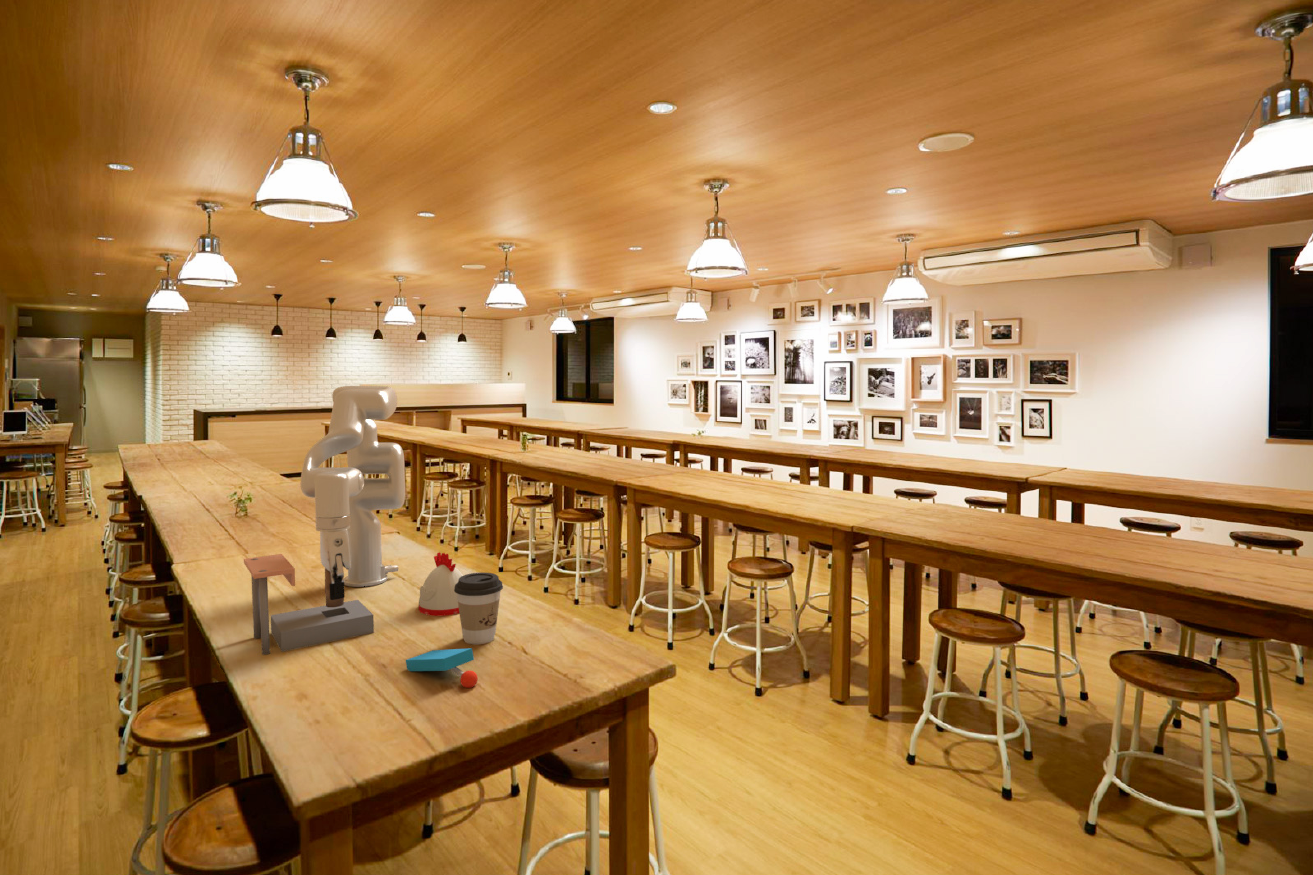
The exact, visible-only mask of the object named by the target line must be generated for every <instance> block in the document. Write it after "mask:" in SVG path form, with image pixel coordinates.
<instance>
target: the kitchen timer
mask: <svg viewBox="0 0 1313 875" xmlns="http://www.w3.org/2000/svg"><path fill="white" fill-rule="evenodd" d="M433 559H434V564H435V566H436V567H435V568H434V569H433V570H432V571H431V572H430V573H429V574H428V576H427V577H426V578H425V580H424V583H423V585H421V586H420V588H419V598H418V611H419V613H421V614H423V615H426V614H427V616H433V617H441V616H442V617H445V616H446V617H447V616H452V615H453V616H454V615H457V614H460V613H459V607H458V600H457V593H456V592H455V591H454V589H455V584H457V583H458V581H459V578H460V577H461V576H464V574H463V573H462V572H461V571H460V569H458V568H457V567H456V565H457V564H456V563H453V558H450V556H449V553H445V552H442V553H441V551H439V552H437V553H436V555H434V556H433Z"/></svg>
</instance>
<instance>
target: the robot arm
mask: <svg viewBox="0 0 1313 875" xmlns="http://www.w3.org/2000/svg"><path fill="white" fill-rule="evenodd" d="M331 396H332V409H331V410H332V411H331V414H330V415H331V416H330V421H329V428H328V432H327V434H326V435H324V436H323V437H321V439H319V440H318V441H316V443H314V444H313V445H312V446H311V448H310V449H309V450H308V451H307V453H306V455H305V457H304V460H303V464H302V469H301V473H300V474H301V475H300V490H301V493H302V494H303V495H304V496H306V497H307V498H311V499H312V498H314V505H315V506H314V508H315V509H314V510H315V531H317V532H319V533H320V534H319V539H320V540H319V544H320V545H319V551H320V554H319V555H320V556H319V557H320V563H321V565H322V566H323V568H324V570H325V569H327V570H328V571H330V577H331V583H330V584H329V585H330V599H331V600H335V599H341V598H345V594H346V593H345V586H347V587H352V588H363V587H364V586H365V587H371V586H377V585H380V584H383V583H385V582H386V581H387V580H388V574H389V573H395V572H399V565H398V564H395V565H392V564H389V565H384V564H383V560H382V557H383V552H382V526H381V522H380V519H379V518H378V516H377V515H376V514H375V513H374V512H373V511H376V510H379V511H380V510H398V509H400V508H402V507H403V506H404V504H405V501H406V477H405V475H406V474H405V472H406V470H405V469H406V468H405V455H404V450H403V448H402V446H401V445H400V444H399V443H397V442H379V441H378V440H379V439H378V426H377V424H376V422H375V421H377V420H378V421H379V420H382V421H383V420H387V419H389V418H390V417H392V416H393V414H394V413H395V411H396V410H397V406H398V397H397V393H396V391H395V389H394V388H393V387H392V386H388V385H387V386H384V385H344V386H343V385H342V386H340V387H337V388H334V390H333V391H332V395H331ZM374 420H375V421H374ZM345 452H346V460H347V461H346V462H347V466H345V467H344V466H343V467H337V466H336V467H321V466H320V465H322V464H323V463H324V462H326V460H328V459H330V458H332V457H335V456H338V455H341V454H342V453H345ZM364 475H387V477H381V478H379V477H378V478H377V477H376V478H375V477H374V478H373V477H371V478H369V477H368V478H366V477H365V476H364ZM333 568H336V569H337V570H334V569H333ZM344 569H346V570H347V576H345V577H344V575H345V571H344ZM334 573H336V574H335V576H334Z"/></svg>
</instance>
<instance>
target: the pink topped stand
mask: <svg viewBox="0 0 1313 875" xmlns="http://www.w3.org/2000/svg"><path fill="white" fill-rule="evenodd" d="M243 563H244V565H245V567H246V568H247V571H248V572H249V573H250V575H251V598H252V600H251V601H252V621H253V622H252V624H253V625H252V626H253V627H252V628H253V639H261V640H260V641H261V655H263V656H267V655H270V654H271V647H270V646H271V643H270V641H271V640H270V618H269V617H270V615H269V614H270V613H269V590H268V588H269V587H268V578H269V577H275V576H282V575H283V577H284V578H285V579H286V580H287V582H288V583H289V584H290V586H292V587H296V574H295V573H296V572H295V567H294V566H293V565H292V564H291V563H290V562H289V560H288V559H287V558H286V557H285V556H284V555H283V554H282V553H277V554H270V555H262V556H256V557H247V558H243Z"/></svg>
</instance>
